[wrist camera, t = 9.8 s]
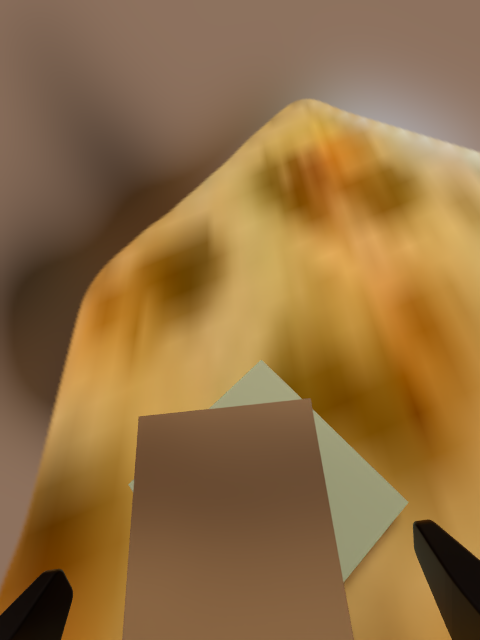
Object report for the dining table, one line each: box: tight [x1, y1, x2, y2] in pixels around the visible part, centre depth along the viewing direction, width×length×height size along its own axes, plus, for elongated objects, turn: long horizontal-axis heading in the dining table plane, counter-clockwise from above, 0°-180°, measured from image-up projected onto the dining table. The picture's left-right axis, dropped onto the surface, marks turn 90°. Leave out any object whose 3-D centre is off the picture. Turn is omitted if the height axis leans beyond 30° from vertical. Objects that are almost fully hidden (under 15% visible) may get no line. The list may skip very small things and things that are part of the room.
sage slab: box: [128, 360, 408, 582], centre depth 17 cm, size 10×10×3 cm
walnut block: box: [122, 398, 354, 640], centre depth 12 cm, size 5×5×9 cm
